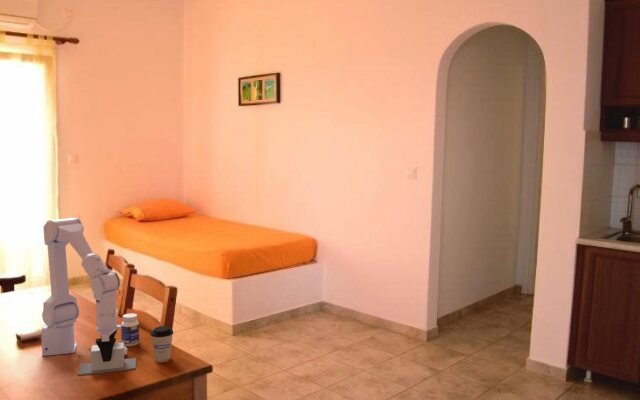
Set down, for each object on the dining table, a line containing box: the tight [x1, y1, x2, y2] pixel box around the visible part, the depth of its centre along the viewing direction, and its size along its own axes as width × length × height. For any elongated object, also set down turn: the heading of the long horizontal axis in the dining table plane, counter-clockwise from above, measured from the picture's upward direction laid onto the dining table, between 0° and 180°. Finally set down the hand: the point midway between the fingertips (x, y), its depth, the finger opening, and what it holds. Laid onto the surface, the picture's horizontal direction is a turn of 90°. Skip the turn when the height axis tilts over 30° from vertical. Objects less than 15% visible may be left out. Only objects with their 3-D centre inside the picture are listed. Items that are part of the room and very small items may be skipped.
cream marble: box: [124, 346, 128, 356], centre depth 172 cm, size 3×3×3 cm
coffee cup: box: [150, 325, 174, 363], centre depth 169 cm, size 7×7×10 cm
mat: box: [77, 357, 137, 377], centre depth 163 cm, size 16×8×1 cm, turn 108°
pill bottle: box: [120, 313, 140, 347], centre depth 182 cm, size 6×6×10 cm
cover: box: [90, 342, 125, 371], centre depth 163 cm, size 9×5×6 cm, turn 108°
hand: (107, 356), depth 163 cm, fingers open, 7 cm apart
